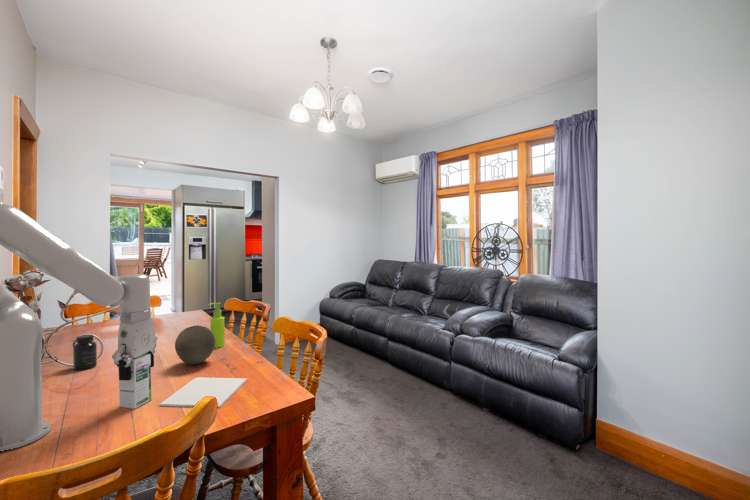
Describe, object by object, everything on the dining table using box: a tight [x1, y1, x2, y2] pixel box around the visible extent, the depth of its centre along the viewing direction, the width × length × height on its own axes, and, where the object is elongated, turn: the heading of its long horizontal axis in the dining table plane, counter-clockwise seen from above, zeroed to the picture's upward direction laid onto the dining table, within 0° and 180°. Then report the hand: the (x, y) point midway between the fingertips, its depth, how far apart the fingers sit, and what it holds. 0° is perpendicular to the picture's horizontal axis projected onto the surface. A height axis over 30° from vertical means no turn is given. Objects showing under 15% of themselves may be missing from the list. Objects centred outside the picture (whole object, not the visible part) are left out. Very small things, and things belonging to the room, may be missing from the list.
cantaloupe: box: [174, 325, 215, 365], centre depth 136 cm, size 14×14×15 cm
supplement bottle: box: [72, 334, 98, 371], centre depth 131 cm, size 7×7×12 cm
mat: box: [159, 376, 248, 409], centre depth 112 cm, size 20×18×1 cm
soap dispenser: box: [207, 302, 226, 349], centre depth 159 cm, size 6×7×20 cm
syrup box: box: [118, 353, 152, 410], centre depth 103 cm, size 6×6×14 cm
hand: (137, 373), depth 104 cm, fingers open, 9 cm apart
